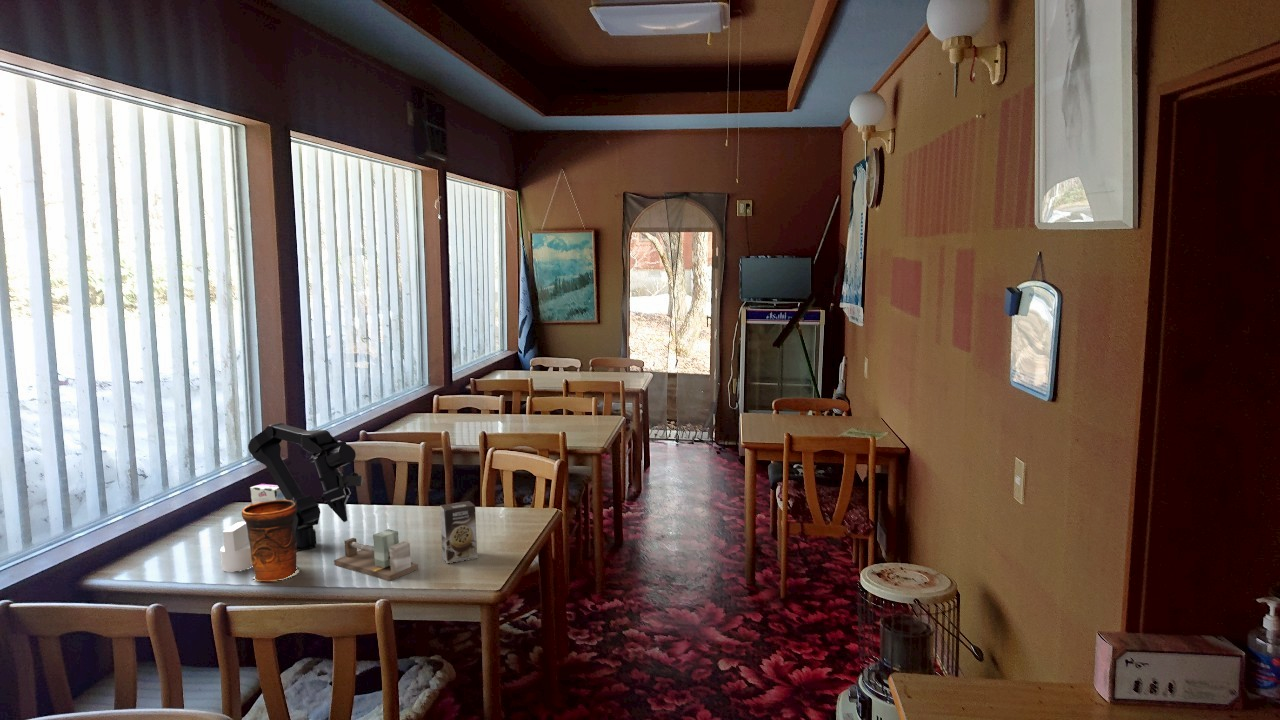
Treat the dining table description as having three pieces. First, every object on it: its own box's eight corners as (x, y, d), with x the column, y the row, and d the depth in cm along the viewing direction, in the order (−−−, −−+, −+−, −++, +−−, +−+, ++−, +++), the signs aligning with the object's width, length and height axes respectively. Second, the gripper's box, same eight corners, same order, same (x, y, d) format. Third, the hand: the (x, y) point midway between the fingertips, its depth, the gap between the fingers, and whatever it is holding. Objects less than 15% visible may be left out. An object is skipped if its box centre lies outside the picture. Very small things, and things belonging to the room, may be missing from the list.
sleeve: (375, 565, 228) (373, 534, 227) (390, 559, 233) (388, 529, 232) (384, 568, 226) (382, 537, 225) (399, 561, 231) (397, 531, 229)
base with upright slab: (232, 560, 240) (228, 521, 239) (262, 560, 240) (258, 521, 239) (215, 572, 231) (211, 532, 230) (246, 572, 231) (242, 531, 230)
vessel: (237, 585, 221) (231, 514, 219) (258, 567, 235) (254, 499, 233) (290, 583, 222) (286, 512, 220) (309, 565, 236) (305, 498, 234)
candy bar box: (291, 534, 263) (287, 485, 260) (279, 539, 258) (275, 489, 256) (265, 531, 267) (261, 482, 265) (253, 536, 262) (248, 486, 260)
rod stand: (334, 565, 235) (332, 536, 234) (363, 554, 243) (361, 526, 242) (390, 581, 222) (388, 551, 221) (418, 569, 230) (416, 540, 229)
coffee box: (447, 564, 233) (444, 510, 231) (442, 557, 239) (439, 504, 237) (478, 558, 237) (475, 505, 235) (472, 551, 243) (469, 499, 241)
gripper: (352, 461, 235) (370, 512, 234) (358, 463, 253) (375, 510, 252) (313, 475, 232) (331, 527, 231) (322, 475, 249) (338, 523, 249)
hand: (345, 521), depth 240 cm, fingers closed
